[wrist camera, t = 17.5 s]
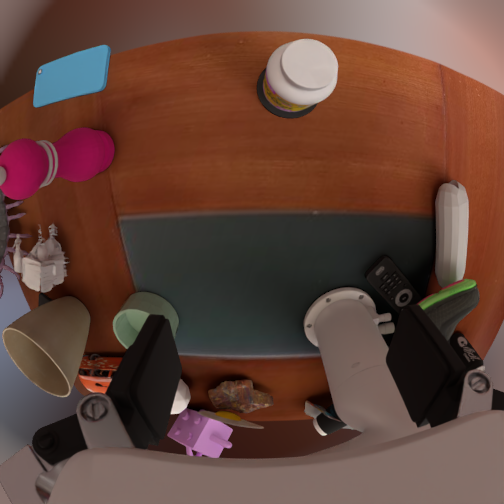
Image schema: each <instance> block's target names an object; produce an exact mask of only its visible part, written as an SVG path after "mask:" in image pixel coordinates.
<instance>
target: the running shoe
mask: <svg viewBox="0 0 504 504" xmlns="http://www.w3.org/2000/svg"><path fill="white" fill-rule="evenodd" d="M478 302H479V291H478V289H477V284H476V282H475V280H468V279H462V280H459V281H457V282H453V283H452V284H449V285H448V286H446V287H444V288H442V289H441V291H439V293H436V294H431V295H429V296H427V297H426V298H424V299H423V300H421V301H420V302H419V303H417V304H418V305H420V307H421V308H422V309H423V310H424V311H425V313H426V314H427V315H428V316H429V318H430V319H431V320H432V321H433V323H434V324H435V325H436V327H437V328H438V329H439V330H440V332H441V333H442V334H443V336H444V337H445V338H446V340H447V341H448V342H449V344H450V337H451V335H452V333H453V331H454V329H455V327H456V325H457V324H458V323H459V321H461V320H462V319H463V318H464V317H465V316H466V315H467V314H469V313H470V312H471V311H472V310H473V309H474V308H475V307H476V306H477V304H478Z"/></svg>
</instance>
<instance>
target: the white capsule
mask: <svg viewBox="0 0 504 504" xmlns="http://www.w3.org/2000/svg"><path fill="white" fill-rule="evenodd" d="M435 207H436V262H435V273H436V277H437V280H438V283H439V285H440V286H441V287H442V288H444V287H446V286H448V285H449V284H452V283H453V282H457V281H459V280H462V278H463V275H464V273H465V264H466V254H467V240H468V197H467V194H466V190H465V187H464V186H462V185H461V184H460V183H459V182H457V181H456V180H452V181H451V182H450V183H444V184H443V185H441V186H440V187H439V190H438V194H437V197H436V201H435Z"/></svg>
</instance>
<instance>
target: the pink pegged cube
mask: <svg viewBox="0 0 504 504" xmlns="http://www.w3.org/2000/svg"><path fill="white" fill-rule="evenodd" d="M201 411H206V410H200V411H199V412H201ZM232 431H233V429H231V428H229V427H228V426H226V425H225V424H223V423H222V422H220V421H216V420H213V419H210V418H207V417H204V416H202V415H200V414H198V413H197V411H194V410H191V409H188V408H185V409H184V410H183V411H182V412H181V413H180V415H179V416H178V418H177V420H176V422H175V423H174V425H173V426H172V428H171V430H170V431H169V433H168V435H167V436H169V437H170V438H172V439H174V440H176V441H177V442H179V443H181V444H183V445H185V446H186V450H187V455H189V456H193V454H192V450H191V449H193V450H195V451H197V452H198V453H197V454H196V455H195V456H200V457H201V456H202V454H204V455H206V456H208V457H212V458H218V457H219V455H220V454H221V452H222V450H223V448H224V447H225V448H231V447H232V443H230V442H228V441H227V440H228V438H229V436H230V434H231V432H232Z"/></svg>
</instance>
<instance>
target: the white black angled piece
mask: <svg viewBox="0 0 504 504" xmlns="http://www.w3.org/2000/svg"><path fill="white" fill-rule="evenodd" d="M305 407H306V408H305V411H304V412H306V414H307V415H310V416H311V417H314V418H316V417H317V416H318V415H319V414H321V413H323V414H324V415H325V416H328V418H331V419H334V420H337V421H340V420H338V419H336V418H334V416H332V415H331V414H329V413H328V412H327V411H326V409H325V408H324V407H322V406H319V405H315V404H312V403H311V402H309V401H307V400H306V402H305ZM340 422H341V421H340ZM343 428H348V429H352V430H354V428H352V427H350V426H348V425H347V426H345V427H343Z"/></svg>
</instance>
